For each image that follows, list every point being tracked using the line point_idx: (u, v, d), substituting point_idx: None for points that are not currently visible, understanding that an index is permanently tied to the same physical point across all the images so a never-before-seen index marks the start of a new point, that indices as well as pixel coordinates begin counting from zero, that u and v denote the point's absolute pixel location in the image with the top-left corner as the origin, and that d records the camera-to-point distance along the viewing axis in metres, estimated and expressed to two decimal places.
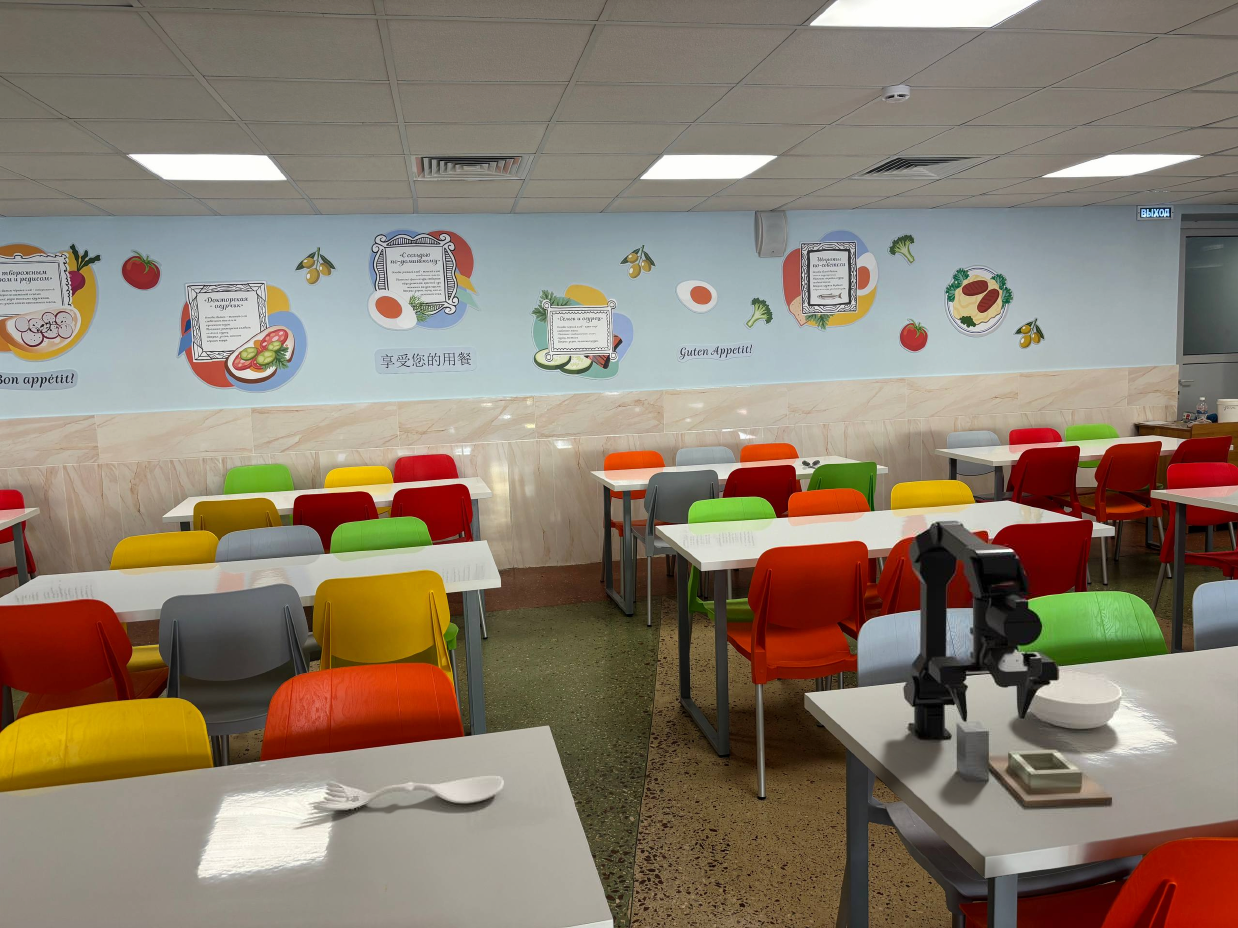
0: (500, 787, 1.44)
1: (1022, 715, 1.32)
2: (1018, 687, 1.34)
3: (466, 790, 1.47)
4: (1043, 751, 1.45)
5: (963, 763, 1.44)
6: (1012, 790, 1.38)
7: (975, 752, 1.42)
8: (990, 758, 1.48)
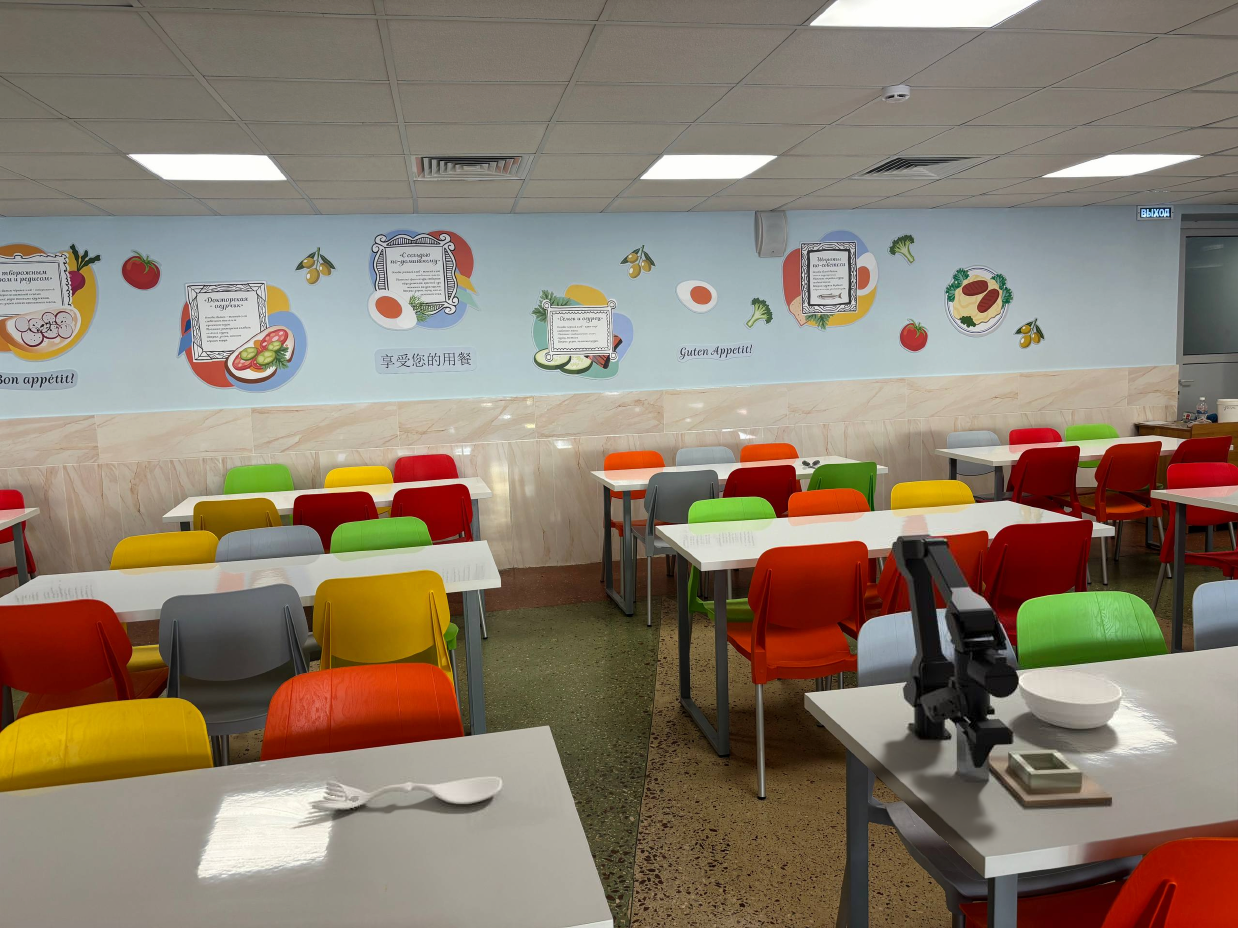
0: (498, 788, 1.44)
1: (974, 763, 1.42)
2: None
3: (465, 791, 1.46)
4: (1043, 751, 1.45)
5: (963, 763, 1.44)
6: (1012, 790, 1.38)
7: None
8: (990, 758, 1.48)
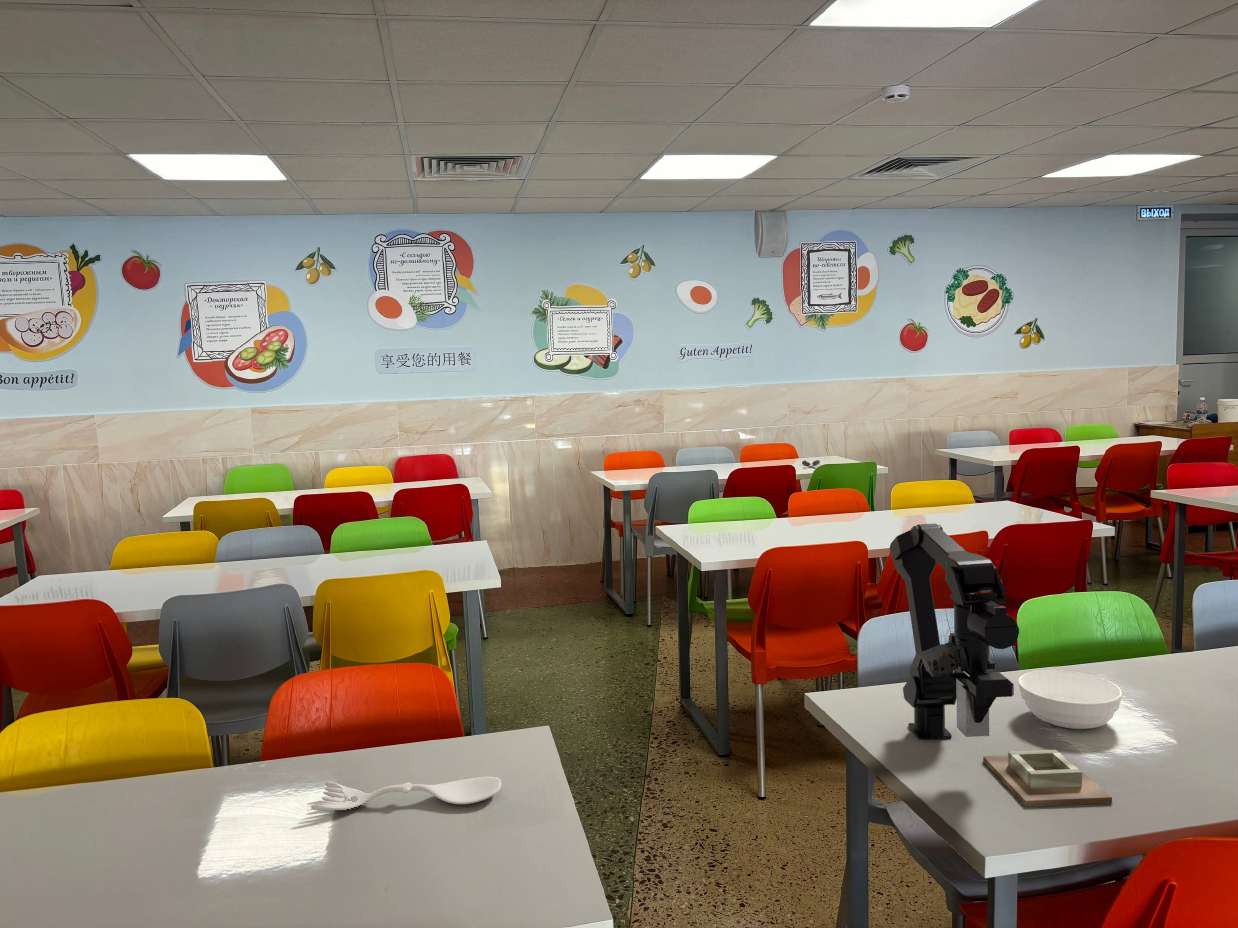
0: (498, 788, 1.44)
1: (974, 718, 1.41)
2: None
3: (464, 791, 1.46)
4: (1043, 751, 1.45)
5: (963, 719, 1.43)
6: (1012, 790, 1.38)
7: None
8: (990, 758, 1.48)
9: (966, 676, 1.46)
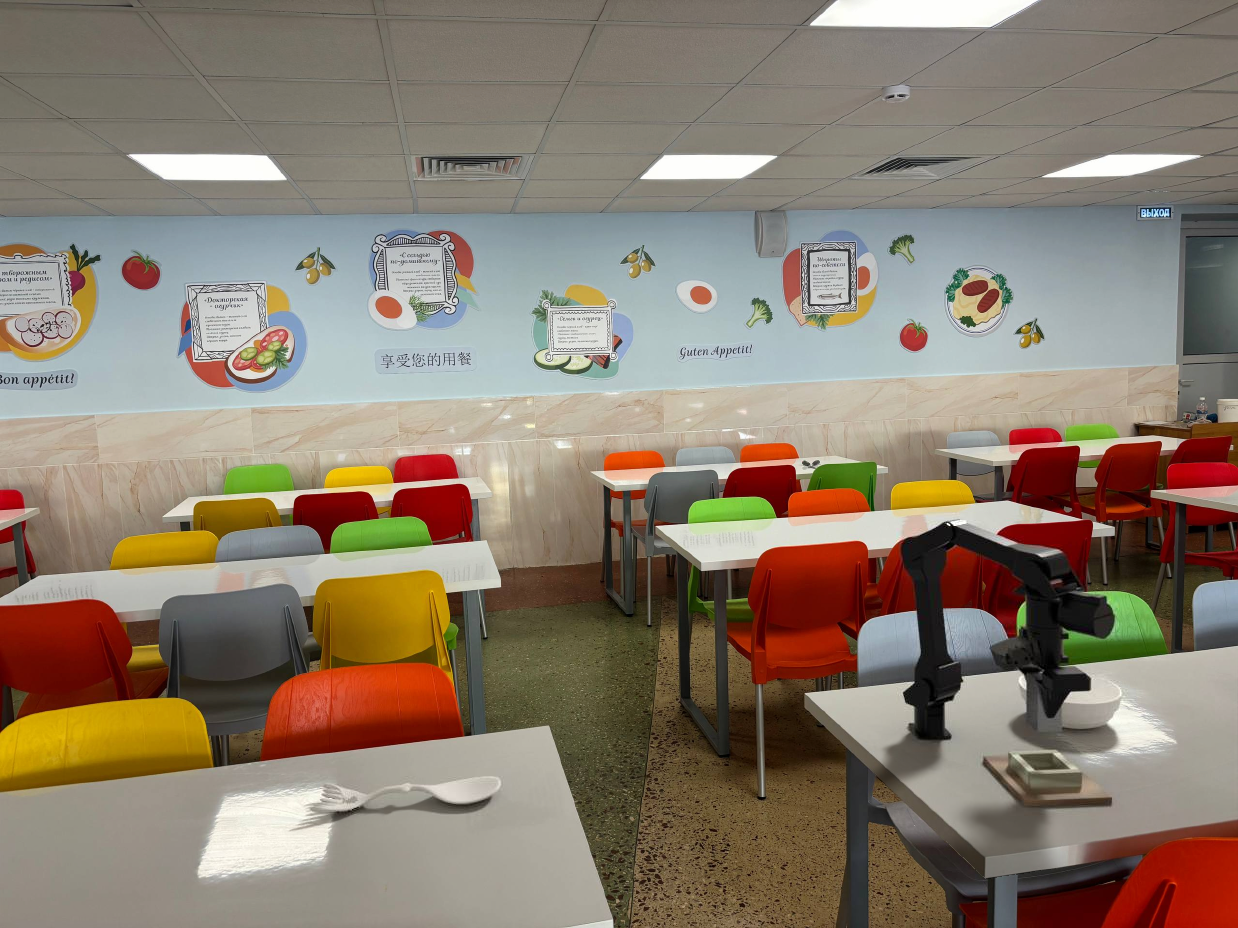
0: (497, 788, 1.44)
1: (1046, 713, 1.38)
2: None
3: (463, 791, 1.46)
4: (1043, 751, 1.45)
5: (1034, 714, 1.40)
6: (1012, 790, 1.38)
7: None
8: (990, 758, 1.48)
9: (1036, 670, 1.42)
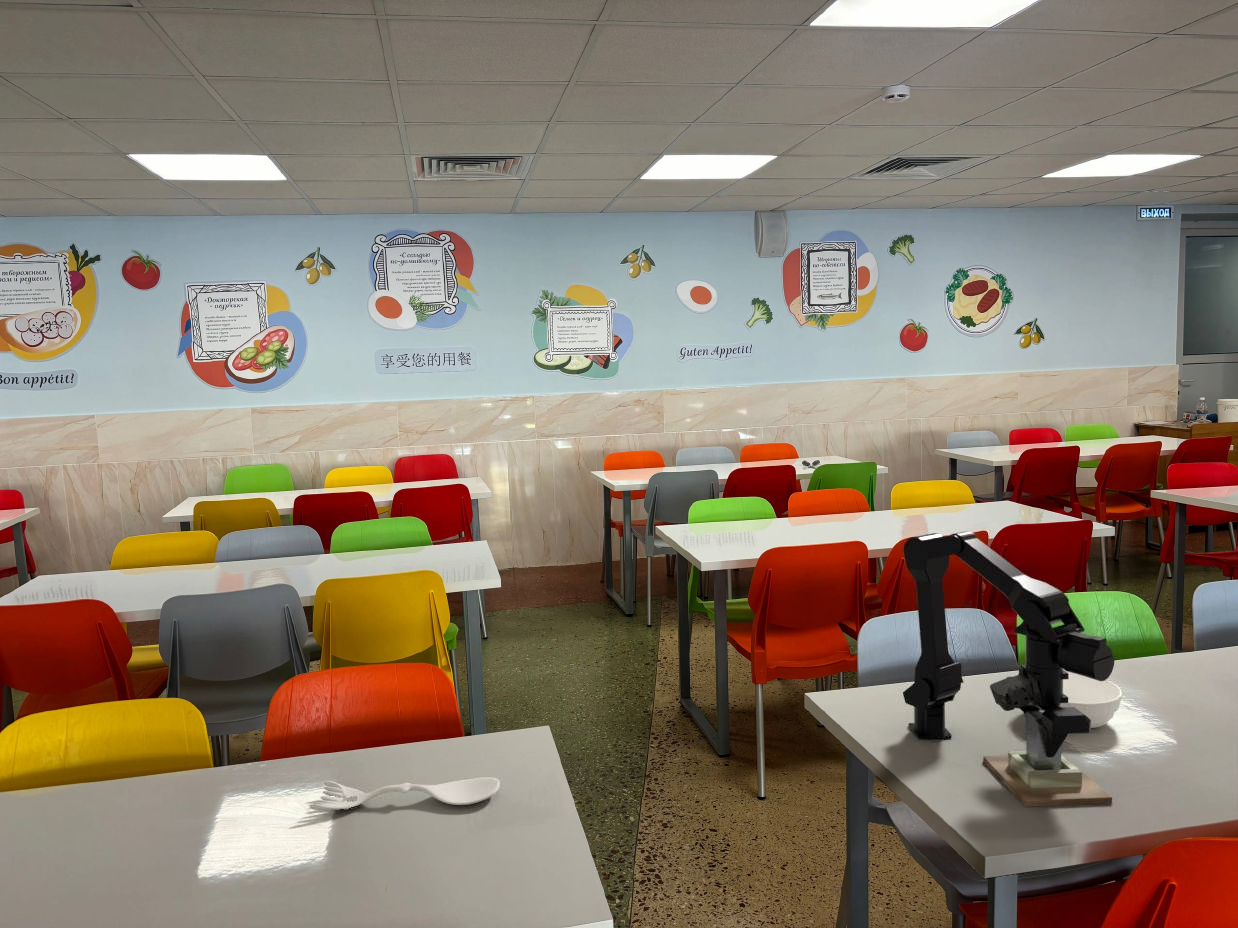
0: (496, 789, 1.44)
1: (1046, 752, 1.39)
2: None
3: (462, 791, 1.46)
4: None
5: (1034, 752, 1.40)
6: (1012, 790, 1.38)
7: None
8: (990, 758, 1.48)
9: (1036, 709, 1.43)
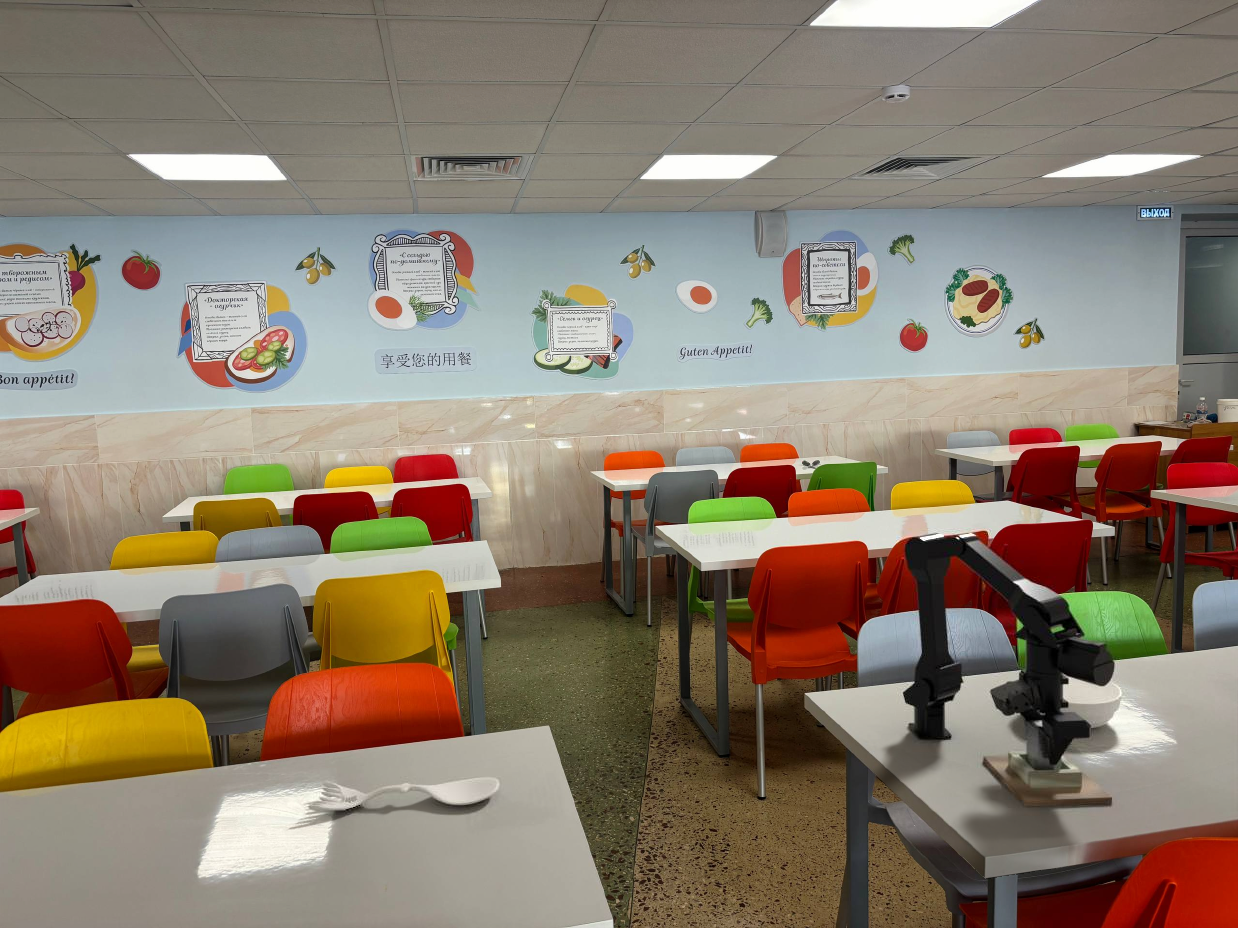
0: (495, 789, 1.44)
1: (1049, 759, 1.38)
2: None
3: (461, 792, 1.46)
4: None
5: (1034, 762, 1.40)
6: (1012, 790, 1.38)
7: None
8: (990, 758, 1.48)
9: (1034, 711, 1.44)
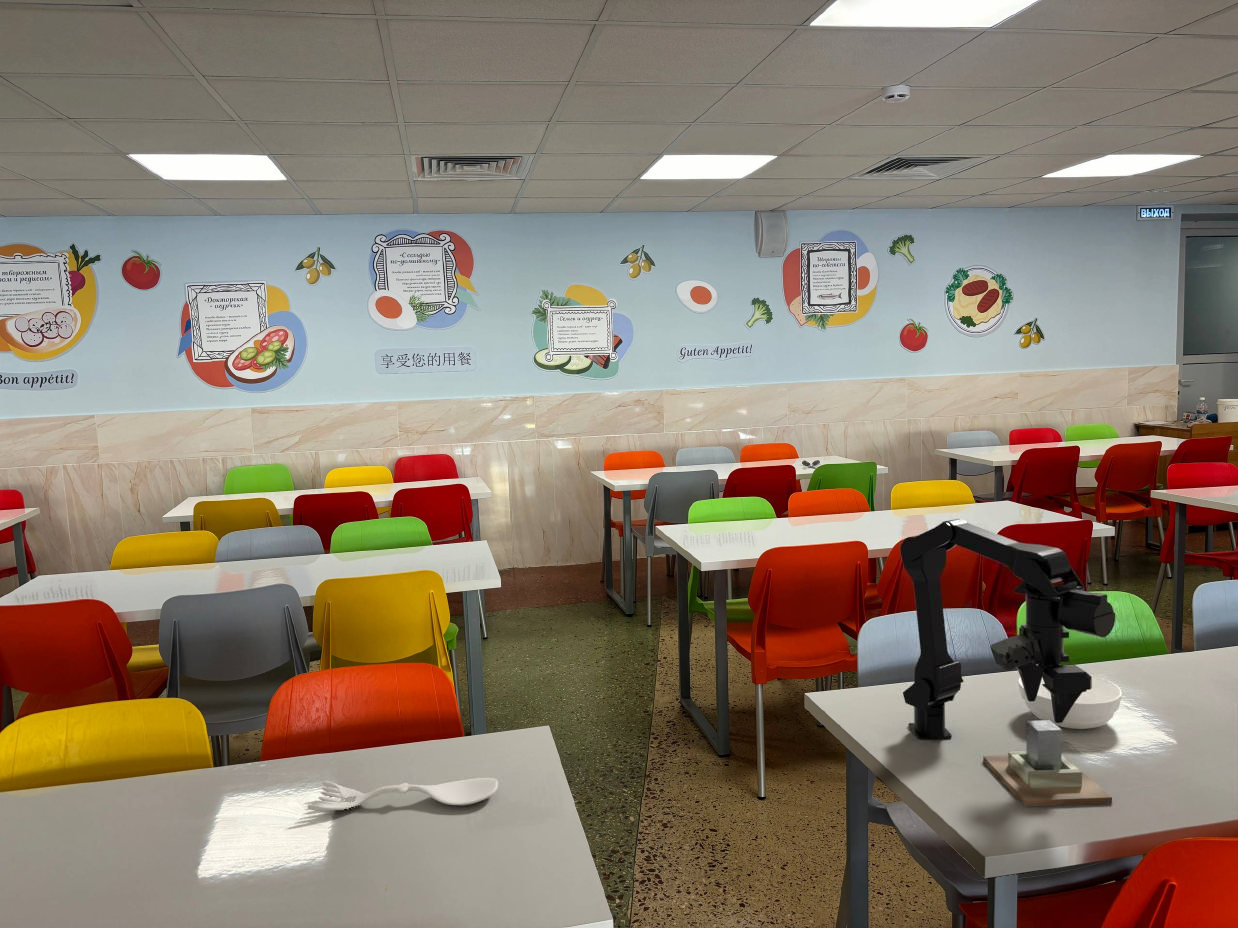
0: (494, 789, 1.44)
1: (1054, 718, 1.36)
2: None
3: (460, 792, 1.46)
4: None
5: (1034, 762, 1.40)
6: (1012, 790, 1.38)
7: (1048, 752, 1.39)
8: (990, 758, 1.48)
9: (1030, 664, 1.45)
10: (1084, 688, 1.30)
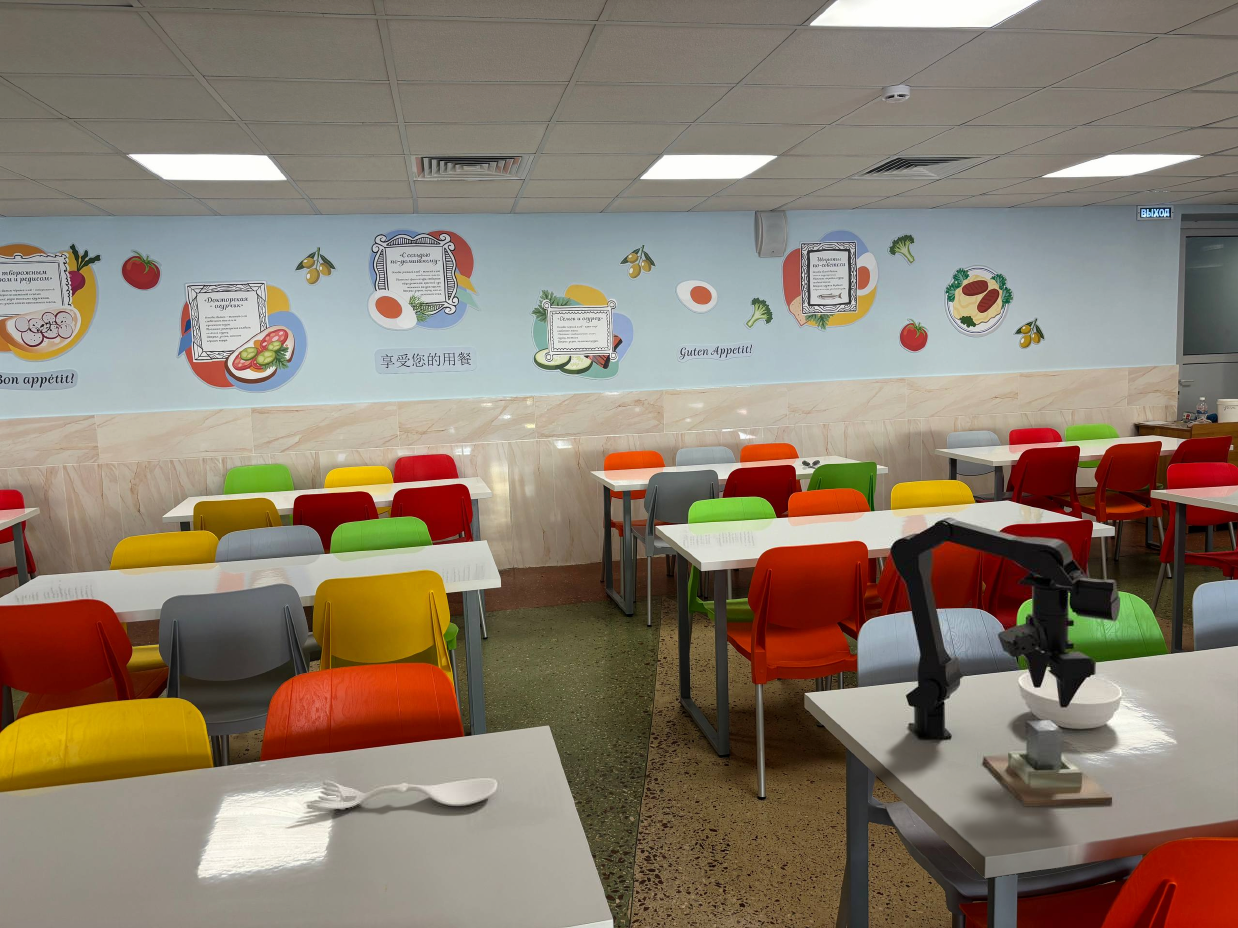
0: (493, 790, 1.43)
1: (1059, 702, 1.42)
2: None
3: (459, 792, 1.46)
4: None
5: (1034, 762, 1.40)
6: (1012, 790, 1.38)
7: (1048, 752, 1.39)
8: (990, 758, 1.48)
9: (1036, 652, 1.51)
10: (1088, 673, 1.36)
